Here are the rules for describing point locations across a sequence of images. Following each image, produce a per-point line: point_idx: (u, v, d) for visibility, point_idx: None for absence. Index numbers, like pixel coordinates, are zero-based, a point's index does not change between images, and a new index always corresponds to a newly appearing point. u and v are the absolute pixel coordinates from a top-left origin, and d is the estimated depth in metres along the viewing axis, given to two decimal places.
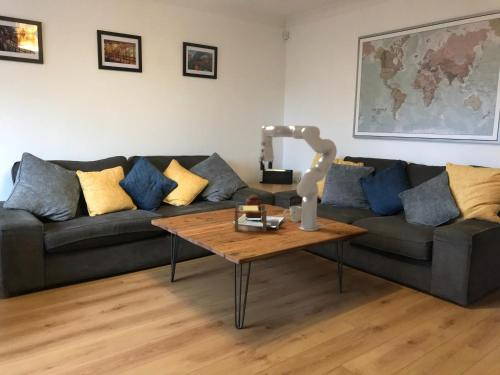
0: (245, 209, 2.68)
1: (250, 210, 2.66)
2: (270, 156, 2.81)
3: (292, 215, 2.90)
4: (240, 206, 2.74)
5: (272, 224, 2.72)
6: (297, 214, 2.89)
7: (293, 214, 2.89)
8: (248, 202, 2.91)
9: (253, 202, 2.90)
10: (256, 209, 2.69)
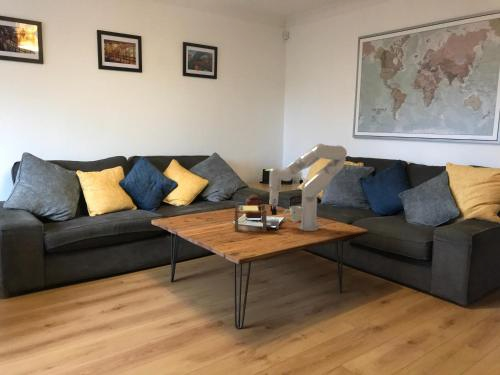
0: (245, 209, 2.68)
1: (250, 210, 2.66)
2: None
3: (292, 215, 2.90)
4: (240, 206, 2.74)
5: (272, 224, 2.72)
6: (297, 214, 2.89)
7: (293, 214, 2.89)
8: (248, 202, 2.91)
9: (253, 202, 2.90)
10: (256, 209, 2.69)
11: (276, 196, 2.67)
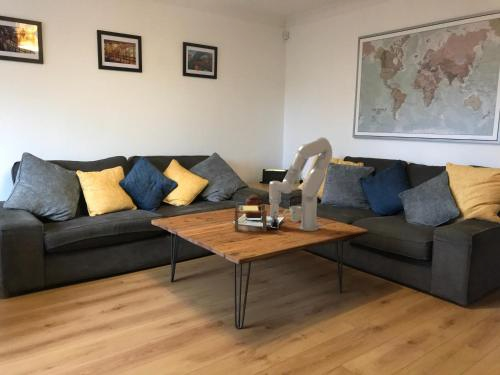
0: (245, 209, 2.68)
1: (250, 210, 2.66)
2: (270, 212, 2.73)
3: (292, 215, 2.90)
4: (240, 206, 2.74)
5: None
6: (297, 214, 2.89)
7: (293, 214, 2.89)
8: (248, 202, 2.91)
9: (253, 202, 2.90)
10: (256, 209, 2.69)
11: (276, 209, 2.68)
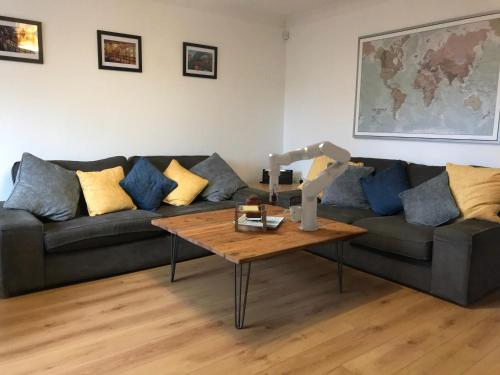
0: (245, 209, 2.68)
1: (250, 210, 2.66)
2: None
3: (292, 215, 2.90)
4: (240, 206, 2.74)
5: (271, 197, 2.69)
6: (297, 214, 2.89)
7: (293, 214, 2.89)
8: (248, 202, 2.91)
9: (253, 202, 2.90)
10: (256, 209, 2.69)
11: (276, 181, 2.65)
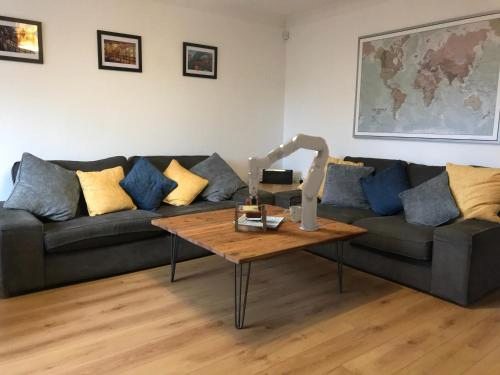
0: (245, 209, 2.68)
1: (250, 210, 2.66)
2: (249, 188, 2.70)
3: (292, 215, 2.90)
4: (240, 206, 2.74)
5: (251, 200, 2.69)
6: (297, 214, 2.89)
7: (293, 214, 2.89)
8: (248, 202, 2.91)
9: None
10: (256, 209, 2.69)
11: (255, 185, 2.65)
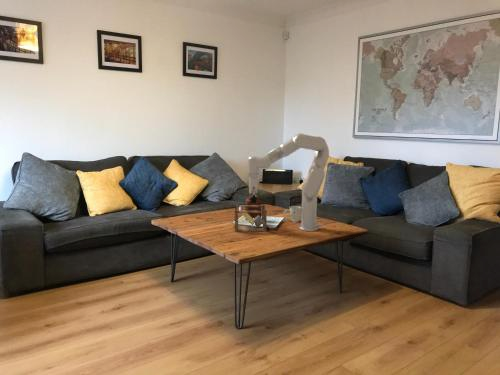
0: (244, 213, 2.69)
1: (247, 218, 2.66)
2: None
3: (292, 215, 2.90)
4: (241, 207, 2.74)
5: (257, 219, 2.71)
6: (297, 214, 2.89)
7: (293, 214, 2.89)
8: (248, 202, 2.91)
9: None
10: (252, 221, 2.70)
11: (255, 184, 2.65)
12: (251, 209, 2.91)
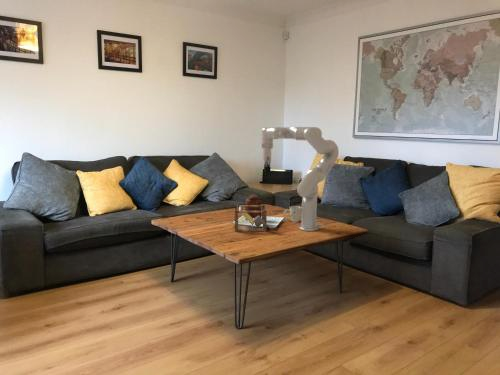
0: (244, 213, 2.69)
1: (247, 218, 2.66)
2: (263, 158, 2.80)
3: (292, 215, 2.90)
4: (241, 207, 2.74)
5: (257, 219, 2.71)
6: (297, 214, 2.89)
7: (293, 214, 2.89)
8: (248, 202, 2.91)
9: (253, 202, 2.90)
10: (252, 221, 2.70)
11: (269, 154, 2.75)
12: (251, 209, 2.91)
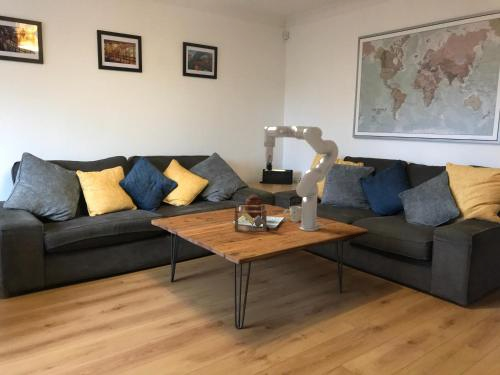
0: (244, 213, 2.69)
1: (247, 218, 2.66)
2: (265, 156, 2.82)
3: (292, 215, 2.90)
4: (241, 207, 2.74)
5: (257, 219, 2.71)
6: (297, 214, 2.89)
7: (293, 214, 2.89)
8: (248, 202, 2.91)
9: (253, 202, 2.90)
10: (252, 221, 2.70)
11: (271, 152, 2.77)
12: (251, 209, 2.91)
